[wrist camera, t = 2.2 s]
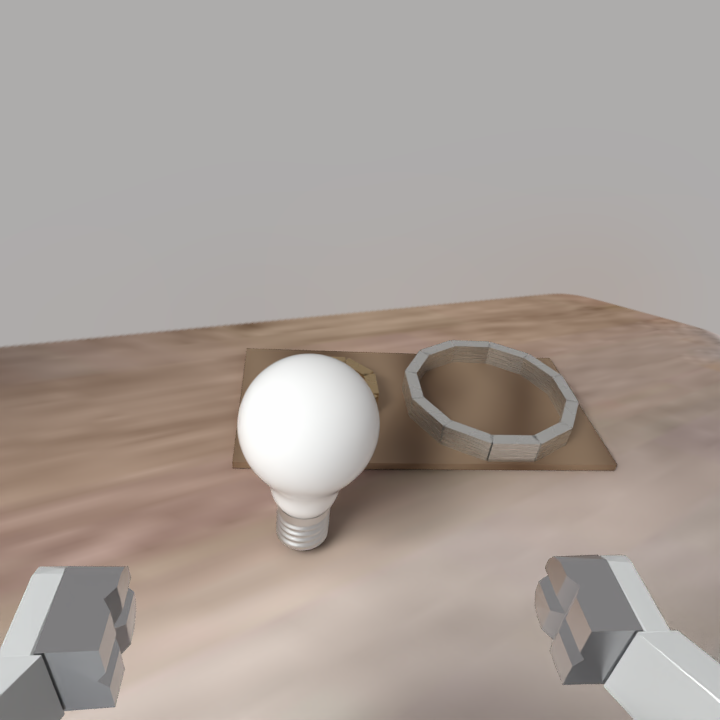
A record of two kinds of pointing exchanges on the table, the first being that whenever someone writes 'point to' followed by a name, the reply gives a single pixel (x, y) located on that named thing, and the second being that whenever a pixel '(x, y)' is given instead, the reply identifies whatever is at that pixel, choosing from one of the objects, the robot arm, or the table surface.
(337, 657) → the table surface
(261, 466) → the lightbulb
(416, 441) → the socket board
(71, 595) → the robot arm
